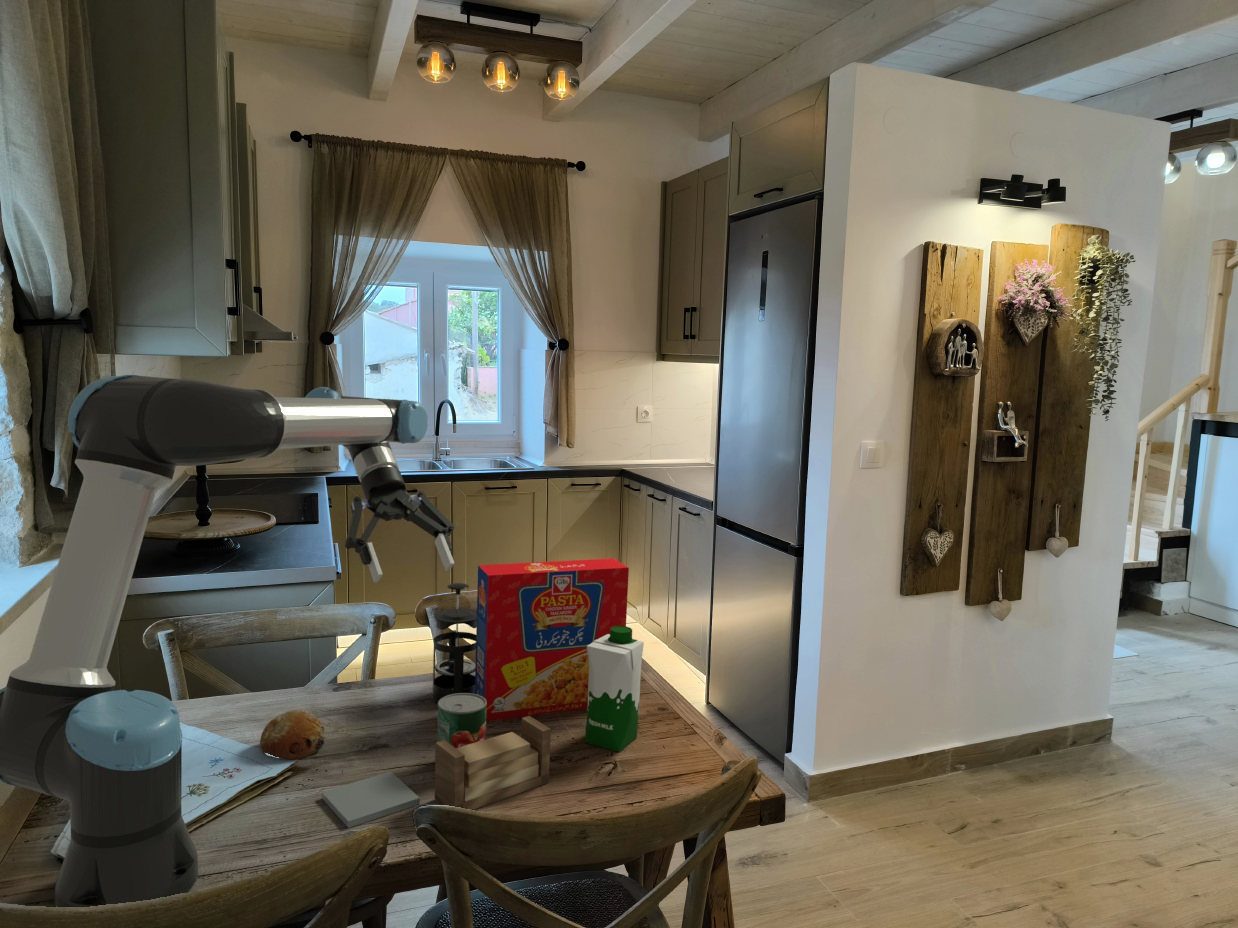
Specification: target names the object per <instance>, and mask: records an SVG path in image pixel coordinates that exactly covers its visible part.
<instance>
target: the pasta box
mask: <svg viewBox="0 0 1238 928" xmlns="http://www.w3.org/2000/svg"><path fill="white" fill-rule="evenodd" d="M629 569H630V567H629V566H627V565H626V564H624V563H622V562H620V561H618V560H617V559H615V558H611V557H610V558H594V559H593V558H592V559H577V560H576V559H574V560H571V559H570V560H554V561H553V560H552V561H551V560H550V561H534V562H518V563H517V562H516V563H497V564H496V563H495V564H479V565H477V587H476V588H477V594H476V611H477V626H476V628H475V629H476V630H475V631H476V633H475V635H476V641H475V642H476V649H475V672H474V673H475V675H474V676H475V694H477V695H480V696H482V697H484V698H485V699H486V701H487V704H486V723H487V722H493V721H495V722H496V721H502V720H511V719H518V718H519V719H520V718H524V717H527V716H530V717H534V716H542V715H548V714H549V715H550V714H559V713H564V712H573V711H582V710H587V704H588V680H589V659H588V652H587V645H589V644H591V643H593V641H595V640H597V639H599V638H601V637H603V636H605V635H607V634H610V628H611V627H614V626H626V627H627V615H628V613H627V612H628V593H629V592H628V591H629V575H630V574H629V573H630V572H629V571H630V570H629Z"/></svg>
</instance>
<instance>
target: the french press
mask: <svg viewBox="0 0 1238 928" xmlns="http://www.w3.org/2000/svg"><path fill="white" fill-rule="evenodd" d="M469 587H470V586H469V585H468V584H467V583H461V582H454V583H449V584H448V585H447V586H446V588H448V589H449V590H454V591H455V595H456V608H447V609H442V610H439V611H437V612H435V613H434V615H433V616H434V617H433V618H434V619H435V620H436V623H435V626H436V628H437V629H438V630H441V631H443V630H444V631H445V630H446V629H448V628H450V627H451V626H453V625H455V630H454V629H453V630H449V631H448V632H444V633H441V634H438V635H435V637H434V638H433V657H432V658H433V661H432V664H433V665H432V671H433V672H432V692H431V700H432V702H433V703H435V704H437V705H438V701H439V700H440V699H441V698H443V697H445V696H447V695H451V694H457V693H471V694H475V675H474V673H475V663H476V661H474V660H470V659H466V658H465V656H464V655H465V653H469V652H472V651H476V633H473V632H469V631H468V632H467V631H459V624H465V625H468V626H469V627H470V628H473V629H476V626H477V610H473V609H469V608H459V603H460V601H459V598H460V595H461V592H462V591H461V590H466V589H469ZM460 639H464V640H465V639H466V640H471V641H474V642H473V643H470V644H466V645H459V644H460V643H459V641H460ZM444 640H448V645H444V644H440V643H439V642H441V641H444ZM436 650H437V651H439V652H441V653H446V654H447V653H448V655H447V656H448V657H447V659H445V660H441V661H439V662H436ZM436 673H437V674H438V676H436Z"/></svg>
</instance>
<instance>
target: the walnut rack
mask: <svg viewBox="0 0 1238 928" xmlns="http://www.w3.org/2000/svg"><path fill="white" fill-rule="evenodd" d="M520 725H521V727H520V728H521V729H520V730H521V731H520V737H521V738H522V739H524V740H525V741H527V742H528V743H530V747H531V748H532V749H534V750H535V751H537V752H538V764H539V768H538V777H535V778H532V779H529V780H526V781H524V782H521V783H518V784H515V785H512V786H509V787H506V788H503V789H500V790H498V791H495V792H492V793H489V794H486V795H483V796H480V797H477V798H475V799H472V800H469V801H466V802H464V764H465V755H464V754H463V753H461V752H460V751H459V750H457V749H456V748H455V747H453V746H452V745H451V744H449V743H448V742H447V741H445V740H443V741H440V742H435V762H434V763H435V764H434V765H435V766H434V769H435V770H434V800H435V799H436V800H437V801H436V800H435V801H436V802H437V803H438V804H440V806H442V805H449V806H455V807H461V808H465V809H473V810H477V809H478V808H481V807H484V806H488V805H489V803H490V804H494V803H495V802H498V801H502V800H504V799H507V798H509V797H513V796H515V795H518V794H521V793H524V792H526V791H528V790H532V789H535V788H537V787H538V788H539V787H541V786H543V785H546V784H548V783H549V784H550V781H549V780H550V759H551V757H550V755H551V732H552V731H551V730H552V729H551V728H550V727H548V726H547V725H545V724H544V723H541V722H540V721H538V720H537V719H535V718H534V717H533V716H527V717H521V724H520ZM540 785H541V786H540Z"/></svg>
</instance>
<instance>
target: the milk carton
mask: <svg viewBox="0 0 1238 928" xmlns="http://www.w3.org/2000/svg"><path fill="white" fill-rule="evenodd" d="M644 643H645V641H642V640H638V639H634V638H633V628H631V627H629V626H627V625H626V626H614V627H611V628H610V634H607V635H605V636H603V637H601V638H599V639H597V640H595V641H593V643H591V644H589V645H587V652H588V659H589V680H588V704H587V709H586V712H587V713H586V721H585V722H586V723H585V733H584V735H585V737H584V743H587V744H588V745H593V746H596V747H600V748H603V749H607V750H611V751H614V752H617V751H618V753H620V752H621V751H622V750H624V749H625V748H626V747H627V746H628V745H630V743H632V742H633V741H634V740H635V739H637V738H638V725H639V711H640V693H641V671H642V660H643V653H644V646H645V645H644ZM631 741H632V742H631Z"/></svg>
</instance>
